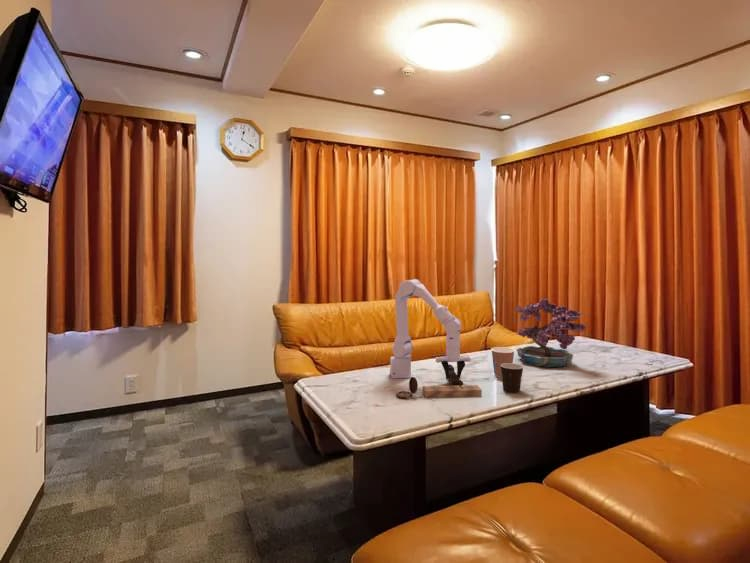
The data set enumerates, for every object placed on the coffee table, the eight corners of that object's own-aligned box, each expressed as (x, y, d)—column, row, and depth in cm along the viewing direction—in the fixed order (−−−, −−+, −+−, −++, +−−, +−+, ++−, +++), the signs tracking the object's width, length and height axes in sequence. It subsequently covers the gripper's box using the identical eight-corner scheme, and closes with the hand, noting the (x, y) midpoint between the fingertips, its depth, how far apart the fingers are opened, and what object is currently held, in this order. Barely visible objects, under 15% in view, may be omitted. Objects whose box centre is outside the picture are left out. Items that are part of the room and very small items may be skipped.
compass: (393, 395, 161) (393, 376, 161) (411, 392, 164) (411, 374, 163) (401, 402, 154) (401, 382, 153) (420, 399, 156) (420, 380, 156)
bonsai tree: (504, 357, 219) (505, 296, 217) (547, 353, 226) (548, 295, 224) (548, 376, 185) (550, 304, 183) (597, 371, 193) (599, 302, 190)
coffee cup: (491, 371, 193) (491, 346, 192) (514, 373, 189) (515, 347, 188) (489, 377, 183) (490, 351, 182) (514, 380, 180) (514, 352, 179)
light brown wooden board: (425, 397, 158) (425, 390, 158) (422, 392, 164) (422, 385, 164) (481, 396, 159) (481, 389, 159) (476, 391, 165) (476, 384, 165)
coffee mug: (507, 385, 172) (507, 362, 171) (526, 390, 166) (527, 366, 165) (491, 391, 164) (492, 367, 164) (511, 397, 158) (511, 371, 157)
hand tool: (462, 391, 165) (463, 378, 164) (450, 391, 165) (451, 377, 165) (455, 375, 187) (456, 363, 187) (445, 375, 188) (445, 363, 187)
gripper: (438, 349, 170) (438, 381, 171) (472, 349, 171) (472, 381, 172) (434, 345, 177) (434, 376, 178) (467, 345, 178) (467, 376, 179)
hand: (452, 378), depth 176 cm, fingers open, 4 cm apart
